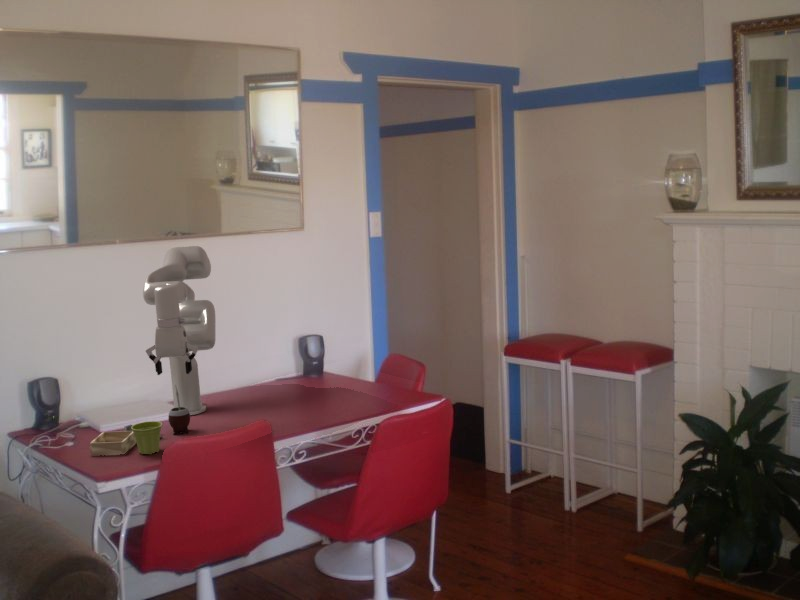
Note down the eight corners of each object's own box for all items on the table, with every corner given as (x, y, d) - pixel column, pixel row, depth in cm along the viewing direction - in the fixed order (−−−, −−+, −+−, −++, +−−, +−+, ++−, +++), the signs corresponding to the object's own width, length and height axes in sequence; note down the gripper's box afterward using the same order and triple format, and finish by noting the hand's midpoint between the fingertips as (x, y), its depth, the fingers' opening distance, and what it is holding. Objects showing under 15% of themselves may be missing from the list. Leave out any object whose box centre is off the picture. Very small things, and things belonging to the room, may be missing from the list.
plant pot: (137, 448, 300) (134, 422, 298) (167, 446, 301) (164, 419, 299) (131, 458, 291) (128, 431, 289) (161, 455, 291) (159, 428, 290)
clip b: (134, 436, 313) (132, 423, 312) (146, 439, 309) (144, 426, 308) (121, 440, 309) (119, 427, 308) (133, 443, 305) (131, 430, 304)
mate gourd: (181, 436, 310) (176, 392, 307) (163, 433, 314) (159, 390, 311) (196, 430, 316) (192, 386, 313) (179, 427, 320) (175, 384, 318)
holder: (104, 443, 306) (103, 431, 306) (136, 442, 306) (135, 430, 305) (90, 455, 295) (89, 443, 294) (124, 454, 294) (122, 442, 293)
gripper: (198, 319, 311) (203, 369, 315) (147, 321, 313) (152, 371, 316) (192, 324, 304) (196, 375, 307) (139, 326, 305) (145, 377, 308)
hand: (174, 373), depth 311 cm, fingers open, 9 cm apart
